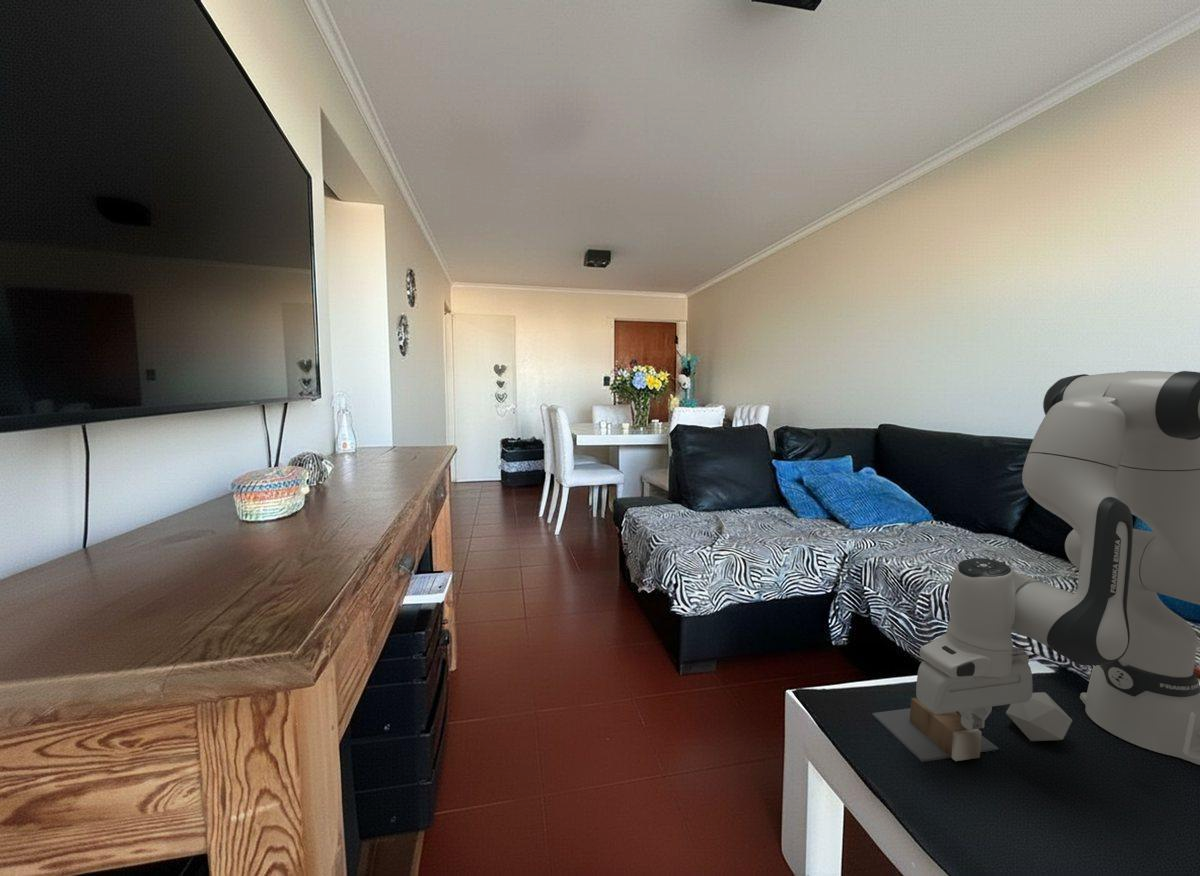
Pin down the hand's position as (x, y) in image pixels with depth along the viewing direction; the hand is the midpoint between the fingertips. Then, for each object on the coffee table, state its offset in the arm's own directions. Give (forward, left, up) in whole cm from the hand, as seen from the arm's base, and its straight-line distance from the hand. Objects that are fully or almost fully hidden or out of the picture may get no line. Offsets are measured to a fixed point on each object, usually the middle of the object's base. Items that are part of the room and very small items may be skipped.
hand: (972, 726), depth 81 cm
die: (-19, -4, -7) cm, 21 cm away
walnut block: (0, 0, -4) cm, 4 cm away
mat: (0, -8, -7) cm, 10 cm away
